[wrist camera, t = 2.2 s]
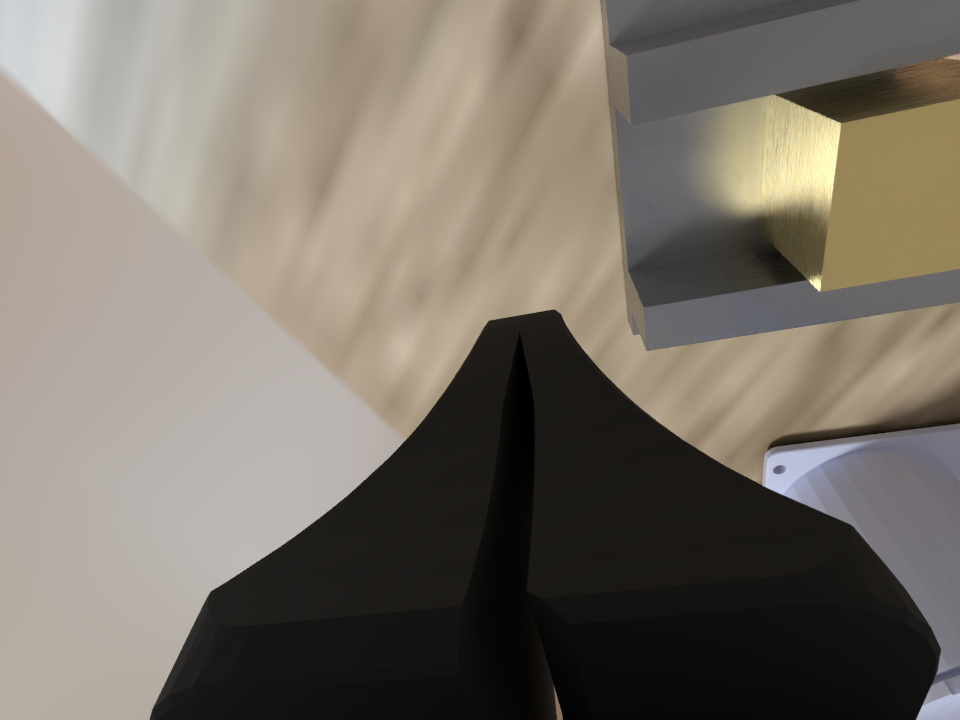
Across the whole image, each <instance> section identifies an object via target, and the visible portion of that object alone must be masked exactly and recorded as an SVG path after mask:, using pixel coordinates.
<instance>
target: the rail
mask: <svg viewBox="0 0 960 720" xmlns="http://www.w3.org/2000/svg"><path fill="white" fill-rule="evenodd" d="M601 12H602V23H603V35H604V46H605V58H606V70H607V81H608V93H609V104H610V116H611V128H612V139H613V151H614V162H615V174H616V186H617V197H618V209H619V220H620V232H621V244H622V255H623V267H624V278H625V290H626V302H627V313H628V322H629V324H630V327H631V330H632V333H633V335H637V334H640V335H641V338H642V340H643V343H644V346H645V348H646V351H650V350H656V349H662V348H669V347H675V346H682V345H688V344H694V343H701V342H707V341H714V340H720V339H726V338H733V337H739V336H746V335H752V334H758V333H765V332H771V331H778V330H784V329H790V328H797V327H803V326H810V325H816V324H822V323H829V322H835V321H842V320H848V319H854V318H861V317H867V316H874V315H880V314H886V313H893V312H899V311H906V310H912V309H918V308H925V307H931V306H938V305H944V304H951V303H957V302H960V269H956V270H950V271H944V272H938V273H932V274H926V275H920V276H914V277H908V278H902V279H895V280H889V281H883V282H877V283H871V284H865V285H859V286H853V287H847V288H841V289H835V290H829V291H823V292H819V291H818V290H817V289H816V288H815V287H814V286H813V285H812V284H811V283H810V282H809V281H808V280H807V279H806V278H805V277H804V276H803V275H802V274H801V273H800V272H799V271H798V270H797V269H796V268H795V267H794V266H793V265H792V264H791V263H790V262H789V261H788V260H787V259H786V258H785V257H784V256H783V255H782V254H781V253H780V252H779V251H778V250H777V249H776V248H775V247H774V246H773V245H772V244H771V243H770V242H769V241H768V240H767V239H766V238H765V237H764V236H763V235H762V234H761V233H760V232H759V231H760V214H761V196H762V179H763V161H764V144H765V127H766V109H767V96H770V95H774V94H779V93H783V92H788V91H792V90H797V89H802V88H806V87H811V86H815V85H820V84H825V83H829V82H834V81H838V80H843V79H848V78H852V77H857V76H861V75H866V74H870V73H875V72H880V71H884V70H889V69H893V68H898V67H903V66H907V65H912V64H916V63H921V62H925V61H930V60H935V59H939V58H947V59H953V60H958V61H960V0H601Z"/></svg>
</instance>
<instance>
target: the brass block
mask: <svg viewBox="0 0 960 720" xmlns="http://www.w3.org/2000/svg"><path fill="white" fill-rule="evenodd" d="M759 232H760V233H761V234H762V235H763V236H764V237H765V238H766V239H767V240H768V241H769V242H770V243H771V244H772V245H773V246H774V247H775V248H776V249H777V250H778V251H779V252H780V253H781V254H782V255H783V256H784V257H785V258H786V259H787V260H788V261H789V262H790V263H791V264H792V265H793V266H794V267H795V268H796V269H797V270H798V271H799V272H800V273H801V274H802V275H803V276H804V277H805V278H806V279H807V280H808V281H809V282H810V283H811V284H812V285H813V286H814V287H815V288H816V289H817V290H818V291H819V292H823V291H829V290H835V289H841V288H847V287H853V286H859V285H865V284H871V283H877V282H883V281H889V280H895V279H902V278H908V277H914V276H920V275H926V274H932V273H938V272H944V271H950V270H956V269H960V61H958V60H953V59H947V58H939V59H935V60H930V61H925V62H921V63H916V64H912V65H907V66H903V67H898V68H893V69H889V70H884V71H880V72H875V73H870V74H866V75H861V76H857V77H852V78H848V79H843V80H838V81H834V82H829V83H825V84H820V85H815V86H811V87H806V88H802V89H797V90H792V91H788V92H783V93H779V94H774V95H770V96H767V109H766V127H765V144H764V161H763V179H762V196H761V214H760V231H759Z"/></svg>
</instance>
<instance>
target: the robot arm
mask: <svg viewBox="0 0 960 720" xmlns="http://www.w3.org/2000/svg"><path fill="white" fill-rule="evenodd" d="M779 465H780V466H779ZM776 466H779V467H776ZM554 687H555V690H556V693H557V697H558V701H559V704H560V707H561V711H562V715H563V720H960V424H952V425H944V426H936V427H928V428H920V429H912V430H904V431H896V432H888V433H880V434H873V435H865V436H857V437H849V438H841V439H833V440H825V441H817V442H809V443H801V444H793V445H785V446H777V447H773V448H771V449H770V450H768V451H767V453H766V454H765V457H764V469H763V481H762V485H760V484H758V483H757V482H755V481H753V480H751V479H749V478H747V477H745V476H743V475H741V474H739V473H737V472H735V471H734V470H732V469H730V468H728V467H726V466H724V465H722V464H721V463H719V462H718V461H716V460H714V459H713V458H711V457H709V456H708V455H706V454H705V453H703V452H701V451H700V450H698V449H696V448H695V447H693V446H692V445H690V444H688V443H687V442H685V441H684V440H682V439H681V438H679V437H678V436H676V435H675V434H674V433H672V432H671V431H670V430H668V429H667V428H665V427H664V426H663V425H661V424H660V423H658V422H657V421H656V420H655V419H653V418H652V417H651V416H650V415H648V414H647V413H646V412H645V411H643V410H642V409H641V408H640V407H639V406H637V405H636V404H635V403H634V402H633V401H632V400H631V399H629V398H628V397H627V396H626V395H625V394H624V393H623V392H622V391H621V390H620V389H619V388H618V387H617V386H616V385H615V384H614V383H613V382H612V381H611V380H610V379H608V377H607V376H606V375H605V374H604V373H603V372H602V371H601V370H600V369H599V368H598V367H597V366H596V364H595V363H594V362H593V361H592V360H591V359H590V357H589V356H588V355H587V354H586V353H585V351H584V350H583V349H582V348H581V346H580V345H579V344H578V342H577V341H576V340H575V338H574V337H573V335H572V334H571V332H570V331H569V329H568V328H567V326H566V324H565V322H564V320H563V318H562V315H561V314H560V313H559V312H557V311H556V310H549V311H543V312H537V313H531V314H525V315H520V316H514V317H508V318H502V319H496V320H491V321H489V322H488V323H487V324H486V326H485V327H484V329H483V330H482V332H481V334H480V336H479V337H478V339H477V341H476V343H475V345H474V346H473V348H472V350H471V351H470V353H469V355H468V356H467V358H466V360H465V361H464V363H463V365H462V366H461V368H460V369H459V371H458V372H457V374H456V375H455V377H454V378H453V380H452V382H451V383H450V385H449V386H448V388H447V389H446V390H445V392H444V393H443V395H442V396H441V397H440V399H439V400H438V401H437V403H436V404H435V405H434V407H433V408H432V409H431V411H430V412H429V413H428V415H427V416H426V417H425V419H424V420H423V421H422V422H421V424H420V425H419V426H418V427H417V428H416V430H415V431H414V432H413V433H412V434H411V435H410V436H409V437H408V438H407V440H406V441H405V442H404V443H403V444H402V445H401V446H400V447H399V448H398V449H397V450H396V451H395V452H394V453H393V454H392V455H391V456H390V458H388V459H387V460H386V461H385V462H384V463H383V464H382V465H381V466H380V467H379V468H378V469H377V470H375V471H374V472H373V473H372V474H371V475H370V476H369V477H368V478H367V479H366V480H364V481H363V482H362V483H361V484H360V485H359V486H358V487H357V488H356V489H355V490H353V491H352V492H351V493H350V494H349V495H348V496H347V497H346V498H344V499H343V500H342V501H341V502H339V503H338V504H337V505H336V506H334V507H333V508H332V509H331V510H329V511H328V512H327V513H326V514H324V515H323V516H322V517H320V518H319V519H318V520H316V521H315V522H314V523H313V524H311V525H310V526H308V527H307V528H306V529H305V530H303V531H302V532H301V533H299V534H298V535H296V536H295V537H294V538H292V539H291V540H289V541H288V542H287V543H285V544H284V545H282V546H281V547H279V548H278V549H276V550H275V551H273V552H272V553H270V554H269V555H267V556H266V557H264V558H263V559H261V560H260V561H258V562H256V563H255V564H253V565H252V566H250V567H249V568H247V569H246V570H244V571H243V572H241V573H240V574H238V575H237V576H235V577H234V578H232V579H231V580H229V581H228V582H226V583H224V584H223V585H221V586H219V587H218V588H216V589H214V590H213V591H211V592H210V594H209V596H208V597H207V599H206V601H205V603H204V605H203V607H202V609H201V611H200V613H199V615H198V617H197V619H196V621H195V623H194V625H193V627H192V629H191V631H190V633H189V635H188V637H187V639H186V641H185V644H184V646H183V648H182V650H181V652H180V654H179V656H178V658H177V660H176V662H175V664H174V666H173V668H172V671H171V672H170V674H169V676H168V679H167V681H166V683H165V685H164V687H163V689H162V691H161V693H160V695H159V697H158V699H157V701H156V703H155V705H154V708H153V710H152V713H151V717H150V720H557V714H556V704H555V694H554Z"/></svg>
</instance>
